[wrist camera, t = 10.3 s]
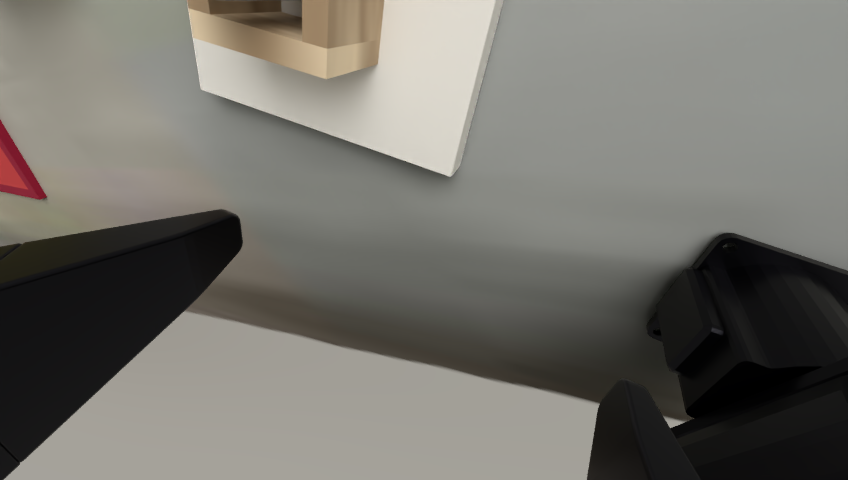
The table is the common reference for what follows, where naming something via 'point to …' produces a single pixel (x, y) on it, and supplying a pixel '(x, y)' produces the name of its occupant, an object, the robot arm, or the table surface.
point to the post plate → (378, 82)
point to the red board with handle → (16, 170)
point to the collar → (295, 32)
